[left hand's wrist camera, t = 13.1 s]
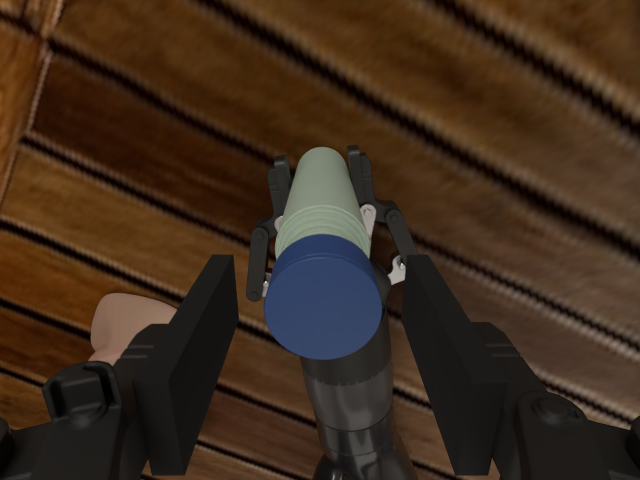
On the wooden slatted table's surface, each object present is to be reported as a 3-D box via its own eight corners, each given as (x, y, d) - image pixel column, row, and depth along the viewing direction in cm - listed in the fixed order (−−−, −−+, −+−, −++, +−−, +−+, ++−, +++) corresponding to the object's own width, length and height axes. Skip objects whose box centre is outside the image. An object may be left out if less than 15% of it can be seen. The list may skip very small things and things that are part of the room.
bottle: (305, 140, 33) (278, 231, 12) (353, 155, 33) (405, 267, 13) (291, 188, 35) (246, 340, 14) (337, 202, 35) (361, 369, 14)
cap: (286, 220, 14) (281, 242, 12) (389, 250, 15) (400, 276, 13) (260, 310, 16) (251, 344, 14) (354, 335, 16) (359, 371, 14)
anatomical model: (52, 315, 34) (183, 313, 34) (78, 292, 38) (197, 291, 38) (88, 429, 39) (202, 427, 39) (108, 399, 43) (213, 398, 43)
